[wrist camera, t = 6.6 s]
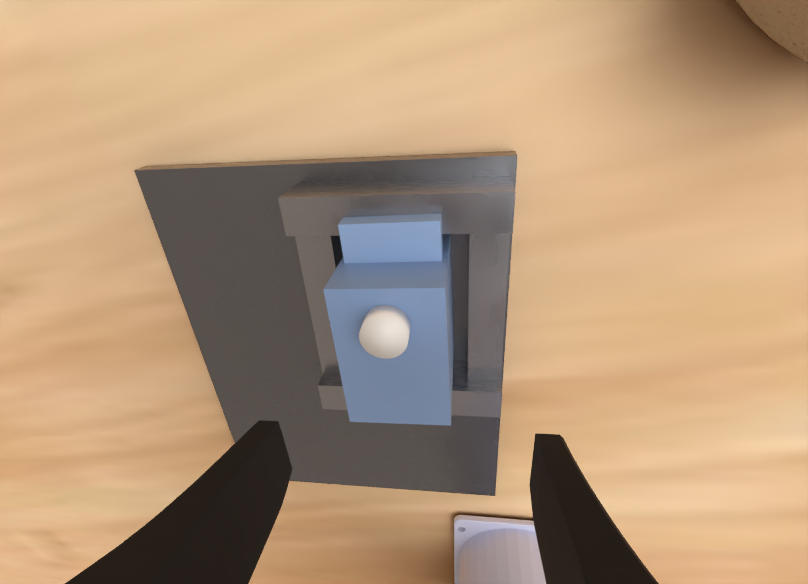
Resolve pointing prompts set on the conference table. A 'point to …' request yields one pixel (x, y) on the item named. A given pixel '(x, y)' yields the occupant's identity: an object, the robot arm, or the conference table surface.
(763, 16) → the ceramic mug
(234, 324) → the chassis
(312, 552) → the conference table surface
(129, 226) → the conference table surface
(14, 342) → the conference table surface
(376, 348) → the servo
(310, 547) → the conference table surface
